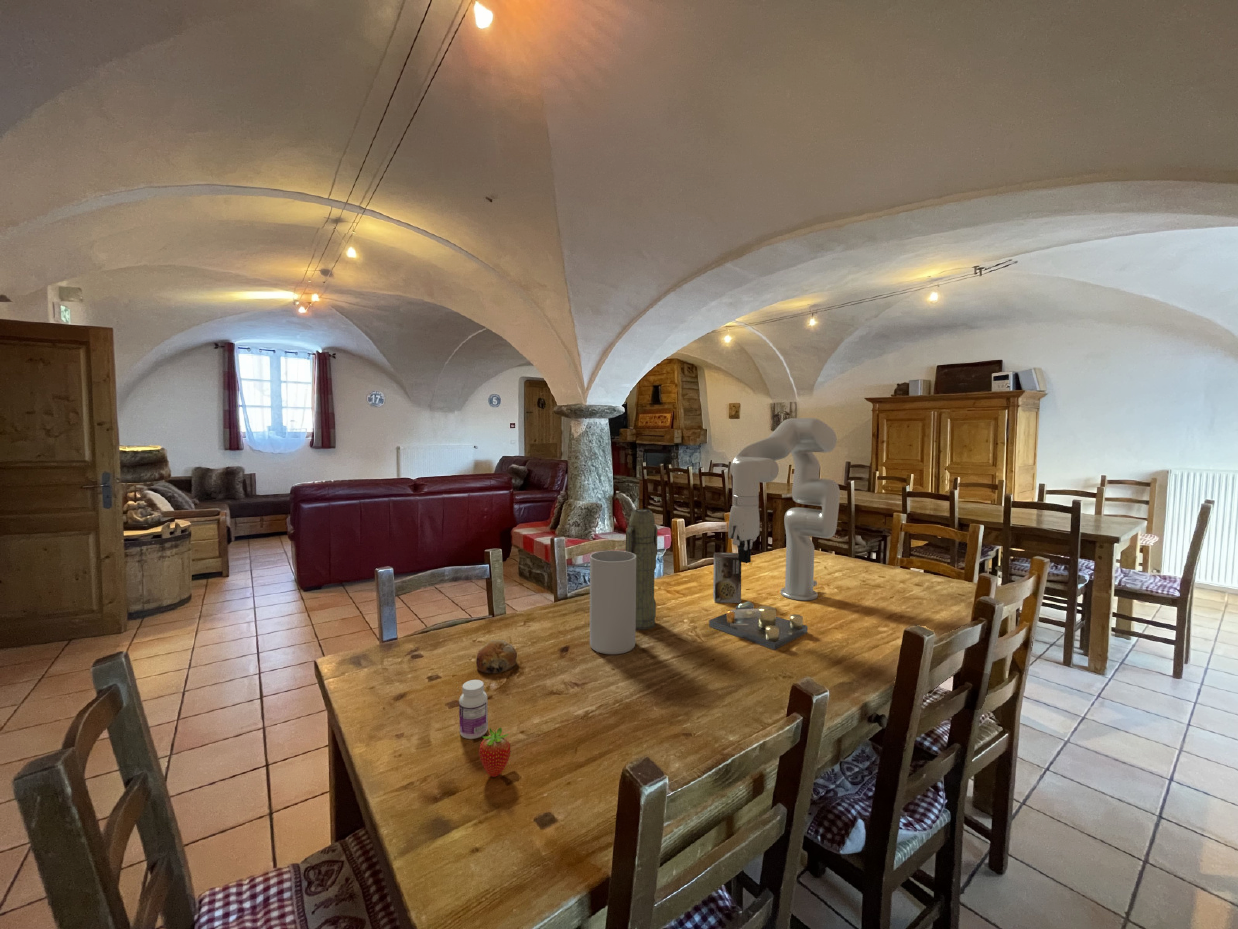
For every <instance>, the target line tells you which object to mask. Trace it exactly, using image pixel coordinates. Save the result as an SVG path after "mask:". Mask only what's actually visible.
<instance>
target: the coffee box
mask: <svg viewBox="0 0 1238 929" xmlns="http://www.w3.org/2000/svg"><path fill="white" fill-rule="evenodd" d="M712 584H713V585H712V586H713V588H712V589H713V594H712V596H713V601H714V603H719V604H720V603H722V604H723V603H724V604H726V603H727V604H729V603H730V604H742V562H739V552H713V583H712Z"/></svg>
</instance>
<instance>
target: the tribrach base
mask: <svg viewBox="0 0 1238 929" xmlns="http://www.w3.org/2000/svg"><path fill="white" fill-rule="evenodd" d="M754 606H755V605H754V603H752V601H745V602H741V603H739V604H738V605H736V606H735V609H755V608H754ZM708 621H709V623H708V625H709V628H713V629H716V630H718V631H721V632H723V633H726V634H729V635H732V636H735V637H738V638H740V639H743V640H746V641H749V642H751V643H754V644H757V645H760V646H761V647H764V648H768V649H771V650H774V651H776V650H777V649H779V648H781V647H783V646H784V645H786V644H789V643H791V642H792V641H795V640H796V639H798V638H800V637H802V636H804V635H805V634H807V633H808V628H809V626H808V625H805V624H804V622H803V621H804V617H803V616H802V615H800V614H794V613H793V614H790V615H789V619H786V618H783V617H779V616H777V615H776V626H772V625H769V626H766V629H765V628H761V627H759V626H758V617H757V618H735V623H728V622H727V612H726V613H724V614H721V615H719V616H717V617H714V618H711V619H709V620H708Z"/></svg>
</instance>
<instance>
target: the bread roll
mask: <svg viewBox="0 0 1238 929" xmlns="http://www.w3.org/2000/svg"><path fill="white" fill-rule="evenodd" d="M517 658H518V653H517V650H516V649H515V647H514V646H513V645H512V644H510V643H509V642H508V641H506V640H503V639H490V640H489V641H488V642H486V643H485V645H483V646H482V647H481V648H480V649H479V650H478V651H477V654H476V662H475V664H476V668H477V669H478V671H479V672H482V673H485V674H493V675H494V674H500V673H503V672H504V673H505V672H507V671H509V670H511V669H513V667H514V666H515V665H516V662H517Z"/></svg>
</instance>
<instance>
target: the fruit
mask: <svg viewBox="0 0 1238 929" xmlns="http://www.w3.org/2000/svg"><path fill="white" fill-rule="evenodd" d="M502 731H503V728H502V727H499V728H498V729H497V730H496V729H495V730H494V731H493V729H492V728H491V727H489V733H490V734H489V735H487V736H486V735H485V736H484V735H482V736H481V737H482V738H483V739H482V741H481V743H480V745H479V749H478V756H479V760H480V763H481V765H482V766H483V769H484V770H485V772H486V774H487V775H488V776H490V777H493V778H494V777H498V776H499V775H500V774H502V772H503V771H504V770H505V768H506V767H507V764H508V762H509V760H510V756H511V743H510V741H509V739H508V738H506V737H508V735H509V733H507V734H502V733H503V732H502ZM501 734H502V735H501Z"/></svg>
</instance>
